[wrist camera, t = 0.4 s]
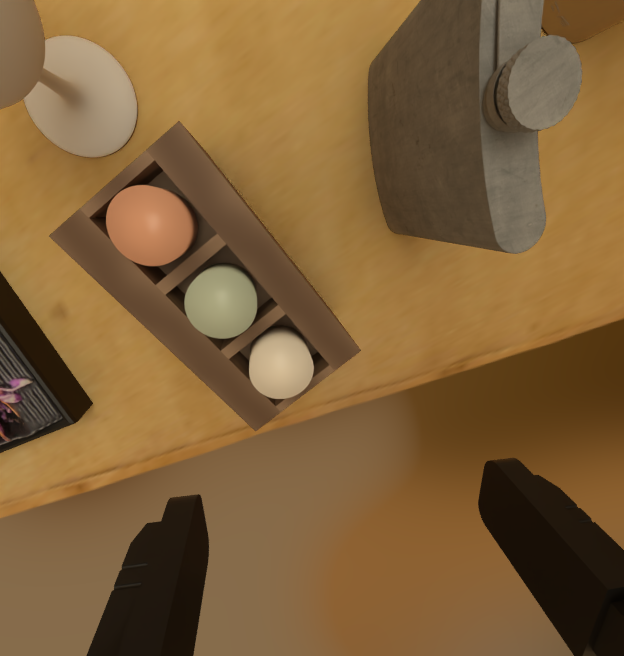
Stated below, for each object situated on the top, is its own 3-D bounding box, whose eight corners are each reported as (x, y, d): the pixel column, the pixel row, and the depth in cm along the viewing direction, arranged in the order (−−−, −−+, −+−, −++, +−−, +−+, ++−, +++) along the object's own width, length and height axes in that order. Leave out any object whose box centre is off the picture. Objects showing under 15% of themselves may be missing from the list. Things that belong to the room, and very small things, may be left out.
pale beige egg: (283, 313, 28) (286, 327, 25) (318, 354, 30) (326, 372, 27) (237, 349, 29) (235, 367, 25) (274, 388, 30) (277, 410, 27)
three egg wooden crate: (204, 149, 32) (179, 120, 21) (332, 312, 38) (361, 350, 28) (114, 227, 32) (48, 235, 22) (255, 373, 39) (255, 431, 29)
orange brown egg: (162, 173, 24) (147, 167, 20) (212, 230, 25) (205, 233, 22) (110, 218, 24) (87, 219, 21) (162, 272, 26) (149, 281, 23)
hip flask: (416, 230, 37) (582, 251, 18) (380, 238, 37) (510, 269, 18) (399, 50, 31) (612, -183, 13) (356, 59, 31) (509, -168, 12)
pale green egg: (228, 249, 26) (224, 255, 23) (269, 297, 28) (271, 309, 24) (179, 289, 26) (168, 300, 23) (223, 334, 28) (219, 351, 25)
